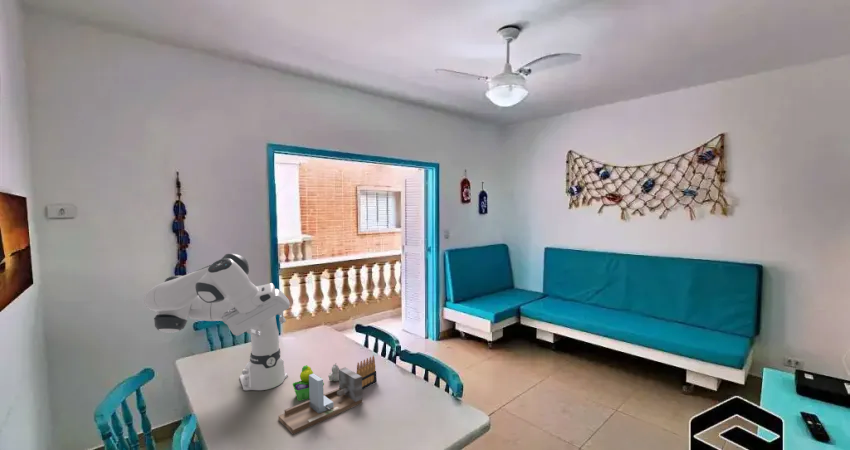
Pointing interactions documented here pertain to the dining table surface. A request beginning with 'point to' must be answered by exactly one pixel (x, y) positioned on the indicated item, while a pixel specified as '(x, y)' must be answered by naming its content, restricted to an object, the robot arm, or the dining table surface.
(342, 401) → the base
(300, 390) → the fruit basket
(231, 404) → the dining table surface
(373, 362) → the ammunition clip
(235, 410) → the dining table surface
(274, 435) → the dining table surface
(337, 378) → the grey figurine
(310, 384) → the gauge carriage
